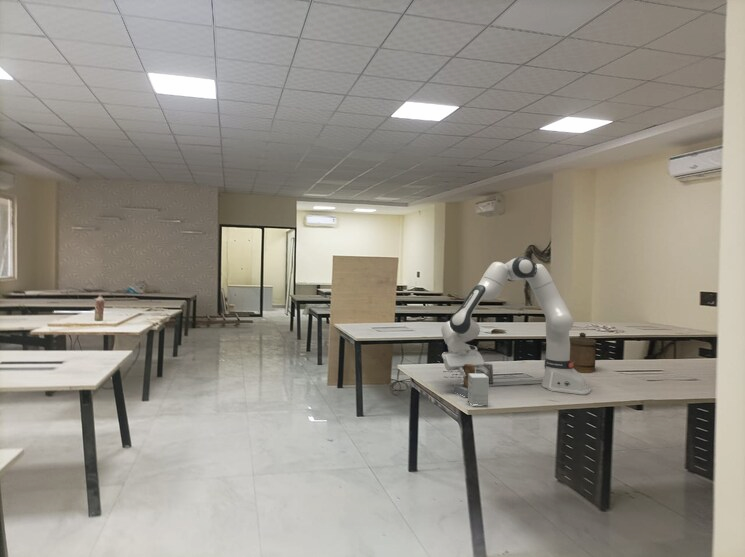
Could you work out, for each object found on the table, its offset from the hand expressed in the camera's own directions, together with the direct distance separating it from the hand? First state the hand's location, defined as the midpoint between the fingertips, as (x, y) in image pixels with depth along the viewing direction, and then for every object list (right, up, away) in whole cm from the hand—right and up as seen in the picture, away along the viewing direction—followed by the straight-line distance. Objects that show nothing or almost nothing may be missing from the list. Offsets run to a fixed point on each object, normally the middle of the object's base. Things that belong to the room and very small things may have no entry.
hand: (470, 376), depth 221 cm
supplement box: (0, -9, -14) cm, 17 cm away
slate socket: (0, -9, +1) cm, 9 cm away
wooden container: (+77, -9, +58) cm, 97 cm away
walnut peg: (0, -7, +1) cm, 7 cm away
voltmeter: (+4, -8, +24) cm, 26 cm away
